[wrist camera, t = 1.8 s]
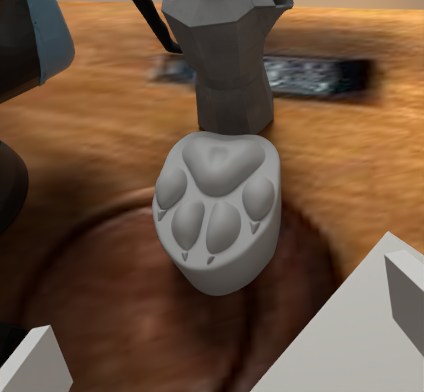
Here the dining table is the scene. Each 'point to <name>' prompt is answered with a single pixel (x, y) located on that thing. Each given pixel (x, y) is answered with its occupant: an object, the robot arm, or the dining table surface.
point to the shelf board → (353, 339)
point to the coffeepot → (222, 57)
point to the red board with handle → (8, 339)
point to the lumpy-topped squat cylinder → (219, 208)
